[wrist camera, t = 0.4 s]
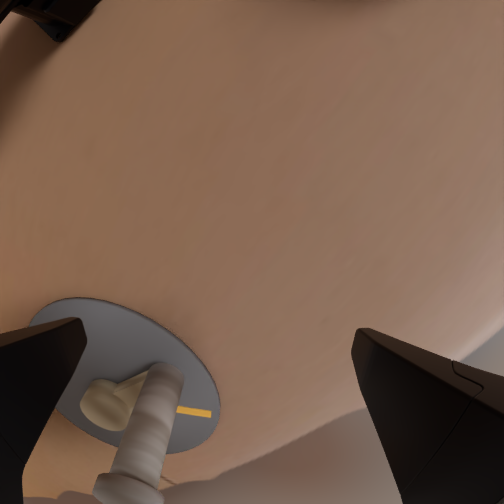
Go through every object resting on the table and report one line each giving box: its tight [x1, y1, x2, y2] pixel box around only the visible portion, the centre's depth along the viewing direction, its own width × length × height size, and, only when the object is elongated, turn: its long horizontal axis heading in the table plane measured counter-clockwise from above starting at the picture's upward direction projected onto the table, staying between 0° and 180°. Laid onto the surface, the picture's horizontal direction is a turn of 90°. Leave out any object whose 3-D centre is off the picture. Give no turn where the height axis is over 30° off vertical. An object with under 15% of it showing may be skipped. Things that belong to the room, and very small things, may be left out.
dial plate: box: [29, 297, 220, 454], centre depth 28 cm, size 22×22×1 cm
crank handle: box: [80, 363, 184, 504], centre depth 20 cm, size 13×5×13 cm, turn 123°
